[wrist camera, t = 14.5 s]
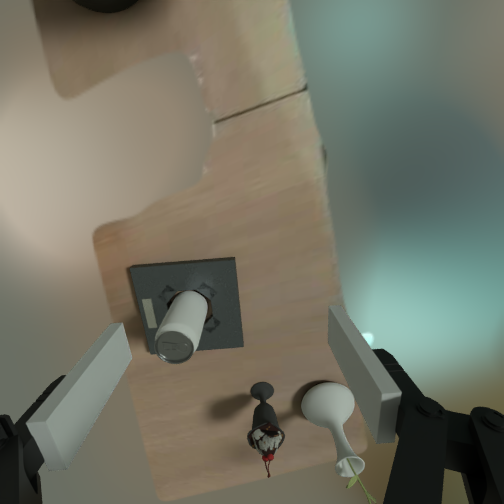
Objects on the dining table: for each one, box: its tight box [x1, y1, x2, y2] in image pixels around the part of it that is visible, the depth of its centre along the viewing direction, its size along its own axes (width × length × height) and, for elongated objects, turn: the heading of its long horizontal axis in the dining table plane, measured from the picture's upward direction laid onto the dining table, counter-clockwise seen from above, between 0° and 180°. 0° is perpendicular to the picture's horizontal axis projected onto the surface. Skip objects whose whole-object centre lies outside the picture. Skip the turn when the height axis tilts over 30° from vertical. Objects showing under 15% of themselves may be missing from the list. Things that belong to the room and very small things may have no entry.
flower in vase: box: [301, 382, 376, 504], centre depth 45 cm, size 13×11×25 cm
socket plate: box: [130, 257, 244, 354], centre depth 47 cm, size 18×18×2 cm
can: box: [154, 291, 208, 364], centre depth 42 cm, size 6×6×12 cm
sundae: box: [247, 382, 285, 478], centre depth 48 cm, size 7×7×15 cm
